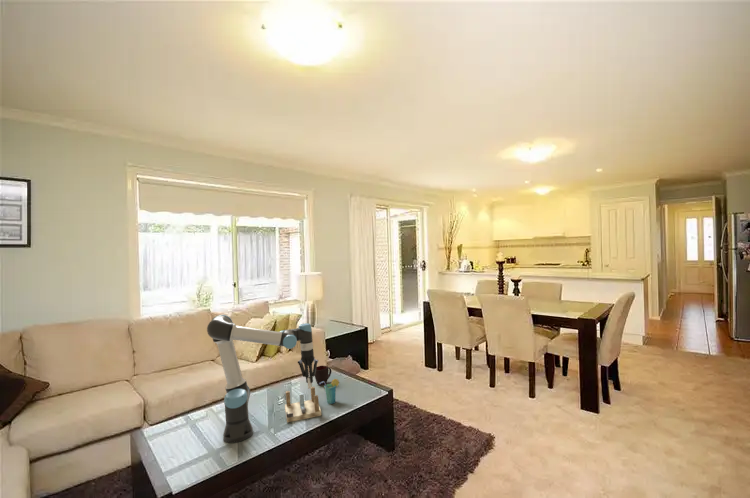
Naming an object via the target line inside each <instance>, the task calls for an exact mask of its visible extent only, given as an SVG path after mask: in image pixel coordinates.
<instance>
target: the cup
mask: <svg viewBox="0 0 750 498" xmlns="http://www.w3.org/2000/svg"><path fill="white" fill-rule="evenodd" d="M321 383H324V384H325V385H323V386H324V389H325V396H326V403H327V404H328V405H332V404H335V403H336V392H337V391H336V389H337V388H338V386H339V384H340V381H339V379H337V378H334V379H332V380H331V383H327V384H326V383H325V382H324V381H322V382H320V383H319V384H321Z"/></svg>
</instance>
